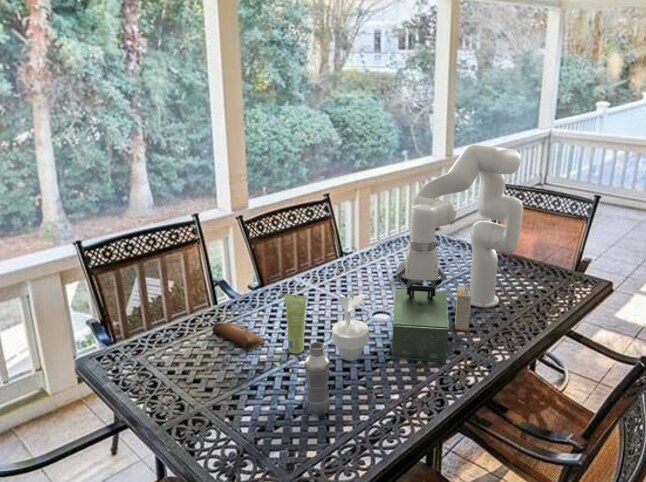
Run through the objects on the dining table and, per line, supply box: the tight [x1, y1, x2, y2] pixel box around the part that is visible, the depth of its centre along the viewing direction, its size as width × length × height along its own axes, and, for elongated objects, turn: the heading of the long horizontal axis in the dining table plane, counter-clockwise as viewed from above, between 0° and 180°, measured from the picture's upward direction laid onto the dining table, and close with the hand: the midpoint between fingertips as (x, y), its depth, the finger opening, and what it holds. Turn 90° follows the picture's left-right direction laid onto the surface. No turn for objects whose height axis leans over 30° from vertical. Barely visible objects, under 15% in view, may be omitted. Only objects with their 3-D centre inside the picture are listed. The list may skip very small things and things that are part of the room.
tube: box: [283, 293, 308, 355], centre depth 169 cm, size 6×5×20 cm
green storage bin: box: [391, 324, 449, 364], centre depth 170 cm, size 14×17×12 cm
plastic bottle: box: [304, 341, 331, 417], centre depth 140 cm, size 6×7×20 cm
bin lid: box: [392, 284, 449, 330], centre depth 166 cm, size 14×17×5 cm
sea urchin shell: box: [395, 260, 423, 284], centre depth 223 cm, size 13×14×8 cm
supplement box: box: [454, 285, 472, 332], centre depth 185 cm, size 8×5×13 cm, turn 168°
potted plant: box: [331, 290, 370, 362], centre depth 165 cm, size 13×12×25 cm
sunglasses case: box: [212, 322, 265, 352], centre depth 179 cm, size 18×7×7 cm
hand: (420, 296), depth 170 cm, fingers closed on bin lid, 6 cm apart
